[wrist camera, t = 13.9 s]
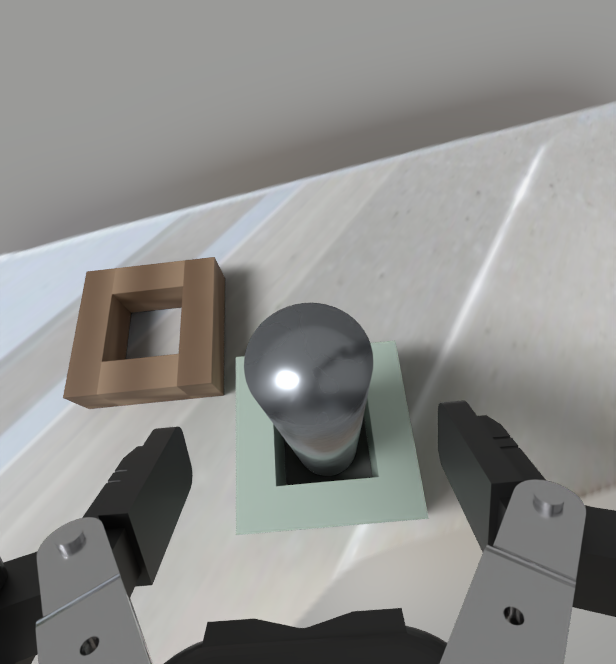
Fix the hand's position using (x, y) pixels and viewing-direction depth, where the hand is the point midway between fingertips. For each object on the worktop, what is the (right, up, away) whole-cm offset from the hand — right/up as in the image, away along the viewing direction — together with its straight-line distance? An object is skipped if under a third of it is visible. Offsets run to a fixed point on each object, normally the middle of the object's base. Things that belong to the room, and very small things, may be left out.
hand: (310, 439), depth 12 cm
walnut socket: (-12, +3, +19) cm, 22 cm away
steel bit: (+1, -4, +14) cm, 15 cm away
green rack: (+1, -4, +14) cm, 15 cm away
